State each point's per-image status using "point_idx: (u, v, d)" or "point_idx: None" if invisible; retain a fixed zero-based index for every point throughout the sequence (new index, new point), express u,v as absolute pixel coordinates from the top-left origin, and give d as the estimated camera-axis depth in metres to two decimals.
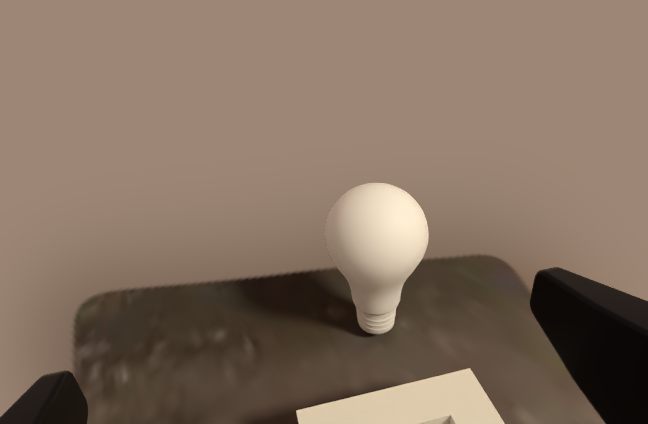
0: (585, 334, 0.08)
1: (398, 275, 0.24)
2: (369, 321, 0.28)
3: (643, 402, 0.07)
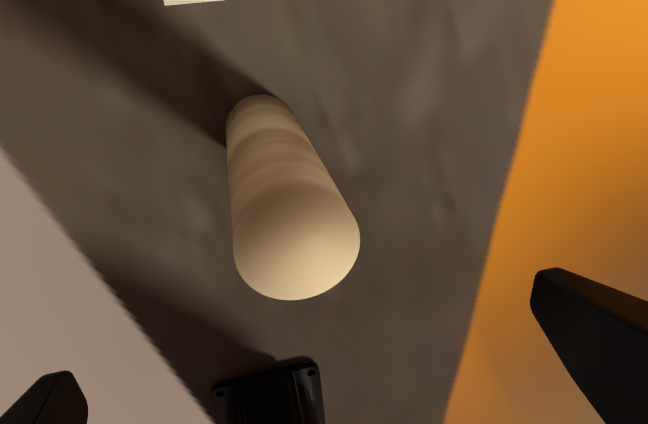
0: (585, 334, 0.08)
1: None
2: None
3: (643, 402, 0.07)
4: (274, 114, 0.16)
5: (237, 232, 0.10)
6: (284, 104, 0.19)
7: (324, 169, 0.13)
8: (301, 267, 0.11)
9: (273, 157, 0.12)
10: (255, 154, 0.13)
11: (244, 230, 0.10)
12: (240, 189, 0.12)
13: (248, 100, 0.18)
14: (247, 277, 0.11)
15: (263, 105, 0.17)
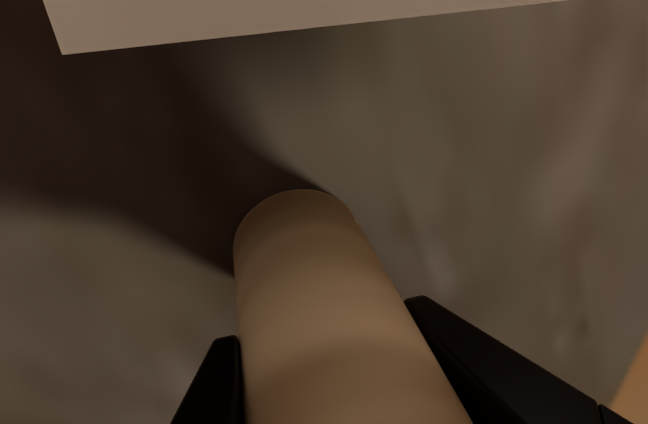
0: None
1: None
2: None
3: None
4: (341, 267, 0.07)
5: None
6: (342, 208, 0.10)
7: None
8: None
9: None
10: None
11: None
12: None
13: (277, 206, 0.10)
14: None
15: (311, 229, 0.09)
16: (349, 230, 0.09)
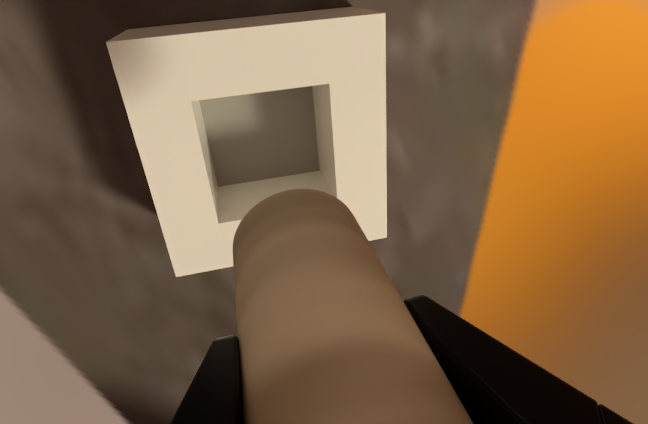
0: None
1: None
2: None
3: None
4: (341, 267, 0.07)
5: None
6: (342, 208, 0.10)
7: None
8: None
9: None
10: None
11: None
12: None
13: (277, 205, 0.10)
14: None
15: (311, 229, 0.09)
16: (349, 230, 0.09)
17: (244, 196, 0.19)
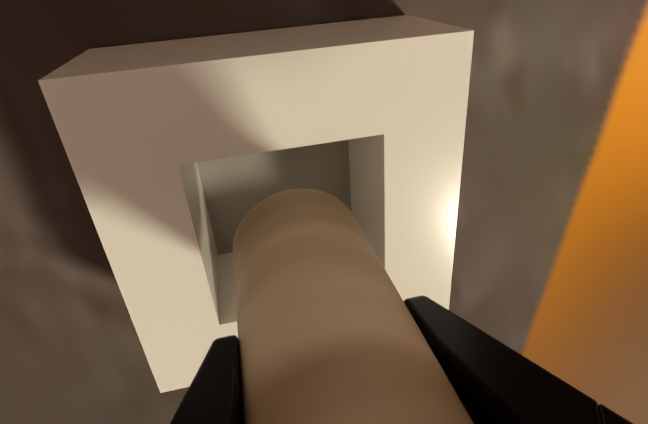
0: None
1: None
2: None
3: None
4: (341, 267, 0.07)
5: None
6: (343, 208, 0.10)
7: None
8: None
9: None
10: None
11: None
12: None
13: (277, 205, 0.10)
14: None
15: (311, 229, 0.09)
16: (349, 230, 0.09)
17: None
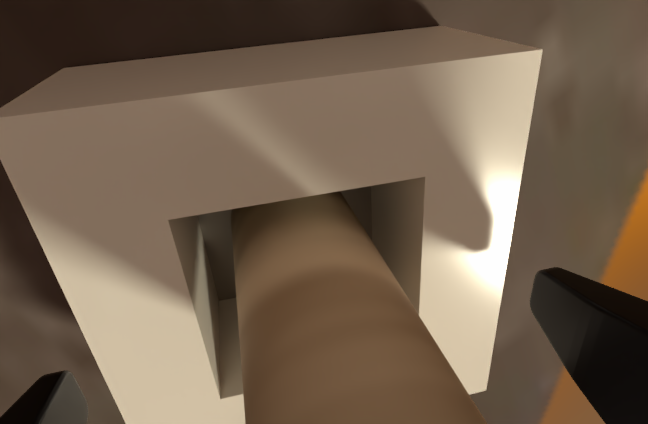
0: (585, 334, 0.08)
1: None
2: None
3: (643, 402, 0.07)
4: (324, 220, 0.09)
5: None
6: None
7: (476, 411, 0.05)
8: None
9: (362, 409, 0.05)
10: (311, 377, 0.05)
11: None
12: None
13: None
14: None
15: None
16: (333, 196, 0.10)
17: None
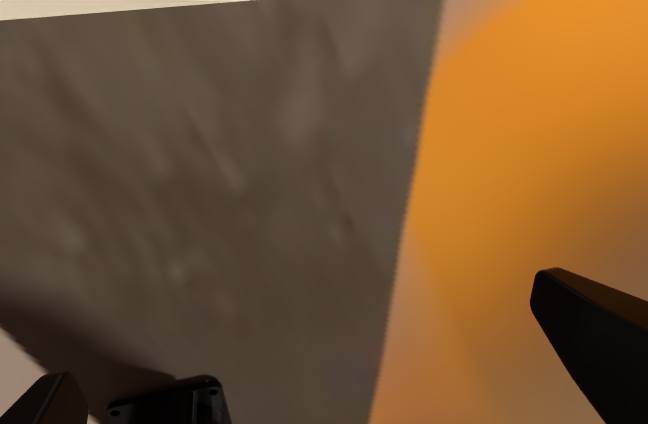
0: (585, 334, 0.08)
1: None
2: None
3: (643, 402, 0.07)
4: None
5: None
6: None
7: None
8: None
9: None
10: None
11: None
12: None
13: None
14: None
15: None
16: None
17: None
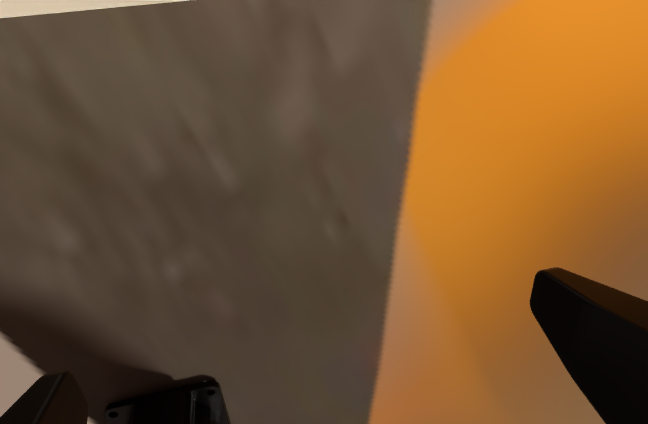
0: (585, 334, 0.08)
1: None
2: None
3: (643, 402, 0.07)
4: None
5: None
6: None
7: None
8: None
9: None
10: None
11: None
12: None
13: None
14: None
15: None
16: None
17: None
